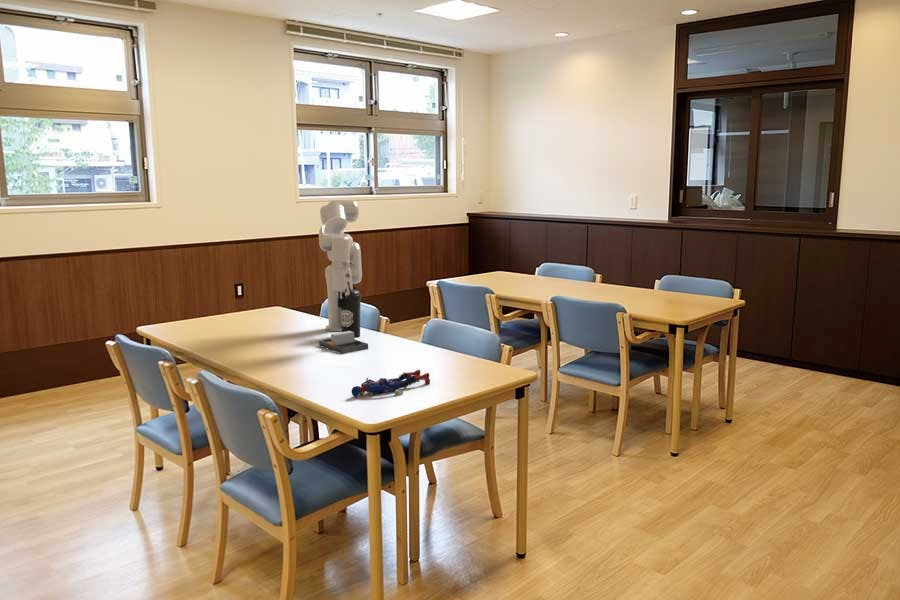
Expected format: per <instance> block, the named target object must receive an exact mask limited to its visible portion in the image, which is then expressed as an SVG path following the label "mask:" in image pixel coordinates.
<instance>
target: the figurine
mask: <svg viewBox="0 0 900 600" xmlns="http://www.w3.org/2000/svg"><path fill="white" fill-rule="evenodd" d="M421 373H422V372H421V369H417V370H415V371H410V372H409V371H408V372H405V371H404V372H402V373H401V374H400V375H399V376H398V377H395V378H385V377H384V378H382V377H380V378H379V379H378V380H376V381H375V380H372V379H369V377H367V378H365V381H364V382H362V383H361V384H360V386H359V385H356V386H353V387H352V389H351V394H352V396H353V397H354V398H359V396H360V397H361V396H363V395H364V393H367V394H369V395H371V396H375V395H376V394H378V393H385V392H391V393H393V394H394V395H395V396H401V394H402V395H403V394H404V391H403V390H402V388H404V389H406V388H407V387H409V386H411V385H413V384H416V382H420V381H419V380H421V381H424V384H425V385H430V383H431V379H430V373H429V372H426V373H423V374H421ZM400 389H401V390H400Z"/></svg>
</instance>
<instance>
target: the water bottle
mask: <svg viewBox="0 0 900 600" xmlns="http://www.w3.org/2000/svg"><path fill="white" fill-rule="evenodd" d="M349 292H350V295H347V298H346V307H343V308H340V313H341V330H342V331H341V332H346V331H352V332H354V339H355V338H356V339H357V338H359V337H361V300H362V294H361V292H360V291H359V290H358V286H353V290H352V291H349Z"/></svg>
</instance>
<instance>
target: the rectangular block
mask: <svg viewBox="0 0 900 600" xmlns="http://www.w3.org/2000/svg"><path fill="white" fill-rule="evenodd" d="M330 339H331V343H334V344H335V345H339V344H344V343H350V342H354V339H355V338H354V332H352V331H346V332H342V331H339V332H335V333H331V334H330Z"/></svg>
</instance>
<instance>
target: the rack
mask: <svg viewBox="0 0 900 600" xmlns="http://www.w3.org/2000/svg"><path fill="white" fill-rule="evenodd" d="M319 345H320V346H319ZM318 346H319V347H321V346H323V347H322V348H324V347H325V348H324V349H327V348H328V349H327V350H329V351H333V352H336V353H338V352H339V354H341V353H342V355H344V354H349V352H350V353H353V352H360V351H365V350H368V349H369V343H367V342H365V341H360V340H358V339H355V338H354V342H350V343H344V344H339V345H335V344H334V343H331V338H326V339H321V340H318Z"/></svg>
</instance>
